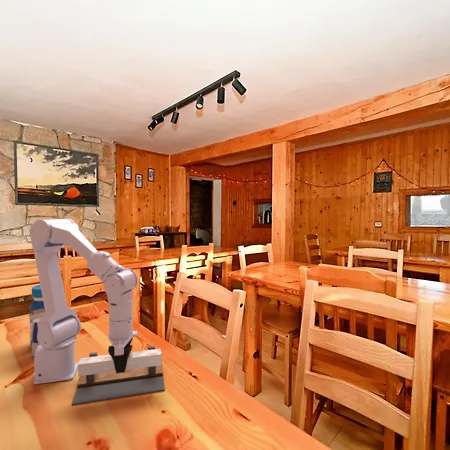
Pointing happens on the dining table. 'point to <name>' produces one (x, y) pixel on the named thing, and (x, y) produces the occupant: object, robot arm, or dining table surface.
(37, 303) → the beverage bottle
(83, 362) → the rail
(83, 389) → the dark grey flat panel
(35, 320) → the energy drink
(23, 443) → the dining table surface
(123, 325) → the robot arm
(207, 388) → the dining table surface
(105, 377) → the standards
